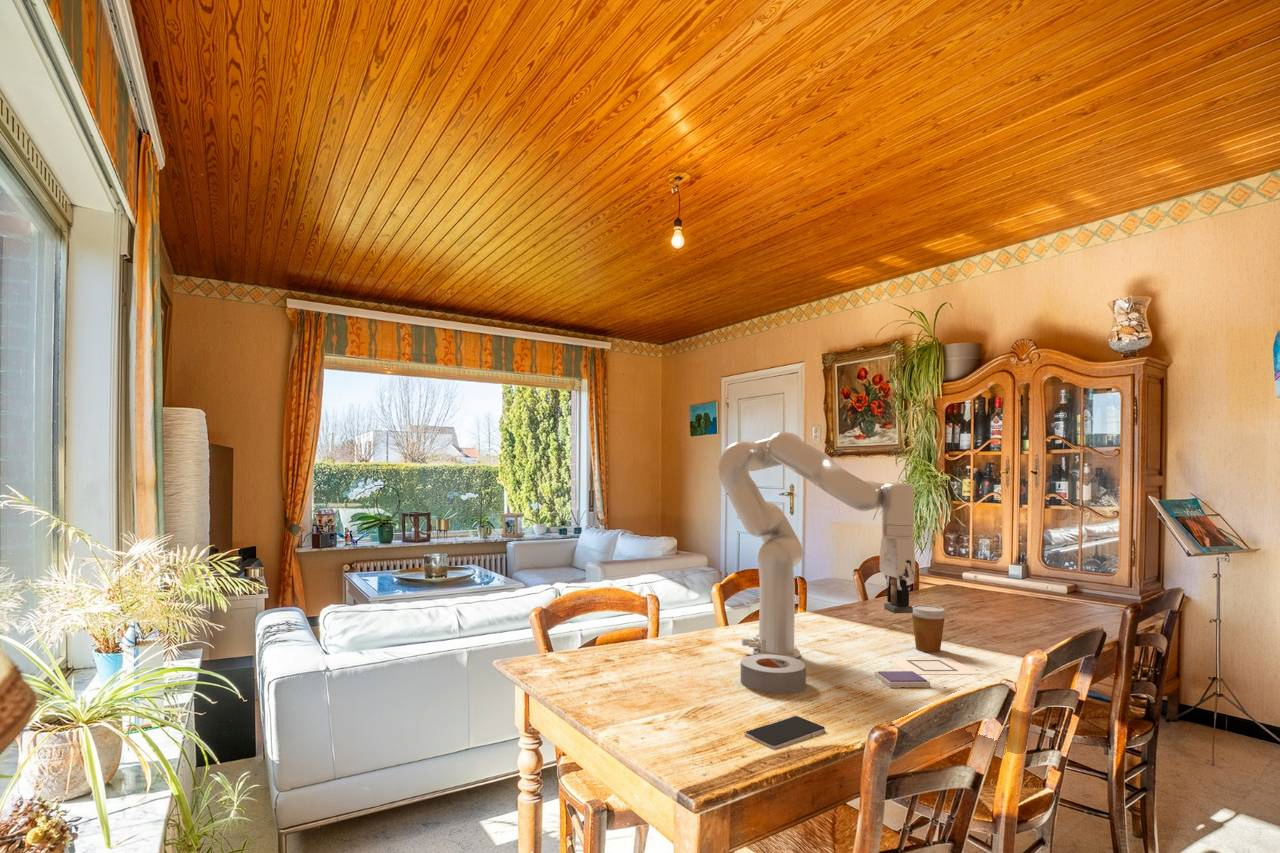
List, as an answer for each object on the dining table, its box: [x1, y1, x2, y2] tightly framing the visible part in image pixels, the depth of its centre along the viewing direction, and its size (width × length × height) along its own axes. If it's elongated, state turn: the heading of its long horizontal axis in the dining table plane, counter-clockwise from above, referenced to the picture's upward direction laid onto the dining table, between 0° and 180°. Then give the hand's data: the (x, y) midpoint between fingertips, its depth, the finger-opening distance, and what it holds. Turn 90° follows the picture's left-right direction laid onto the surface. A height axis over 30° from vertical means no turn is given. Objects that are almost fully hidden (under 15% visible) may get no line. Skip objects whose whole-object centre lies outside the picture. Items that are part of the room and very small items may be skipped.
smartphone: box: [744, 715, 826, 750], centre depth 134 cm, size 8×1×15 cm
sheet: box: [886, 657, 980, 676], centre depth 180 cm, size 18×14×1 cm
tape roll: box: [740, 654, 807, 695], centre depth 164 cm, size 15×15×5 cm
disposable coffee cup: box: [910, 604, 947, 654], centre depth 196 cm, size 10×10×12 cm
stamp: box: [883, 576, 913, 614], centre depth 175 cm, size 5×5×9 cm
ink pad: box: [874, 670, 931, 689], centre depth 167 cm, size 10×8×2 cm
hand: (898, 603), depth 175 cm, fingers closed on stamp, 3 cm apart
